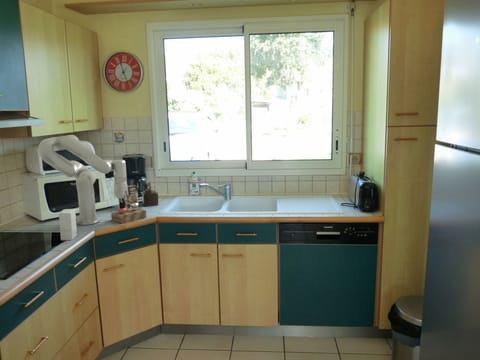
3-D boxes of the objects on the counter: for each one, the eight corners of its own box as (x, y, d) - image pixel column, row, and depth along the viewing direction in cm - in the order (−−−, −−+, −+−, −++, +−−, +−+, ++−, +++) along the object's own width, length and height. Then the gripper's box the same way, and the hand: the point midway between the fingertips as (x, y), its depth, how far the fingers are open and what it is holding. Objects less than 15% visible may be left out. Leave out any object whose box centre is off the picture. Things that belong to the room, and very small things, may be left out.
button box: (121, 223, 248) (121, 216, 247) (111, 220, 256) (111, 212, 255) (146, 217, 261) (146, 210, 260) (136, 214, 269) (135, 207, 268)
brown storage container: (141, 203, 300) (140, 180, 296) (156, 202, 304) (155, 179, 300) (144, 208, 285) (143, 183, 282) (160, 206, 290) (158, 182, 286)
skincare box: (66, 235, 225) (63, 208, 223) (78, 235, 226) (75, 208, 223) (60, 240, 217) (58, 212, 214) (73, 240, 218) (70, 212, 215)
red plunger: (121, 217, 251) (120, 209, 250) (117, 216, 254) (116, 208, 253) (128, 215, 254) (127, 208, 254) (123, 214, 258) (123, 206, 257)
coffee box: (128, 209, 282) (127, 187, 279) (122, 208, 286) (121, 186, 283) (138, 207, 289) (137, 185, 286) (133, 206, 293) (131, 184, 290)
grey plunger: (133, 212, 257) (133, 204, 256) (129, 211, 260) (129, 203, 260) (140, 210, 261) (139, 203, 260) (135, 209, 264) (135, 202, 263)
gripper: (108, 179, 253) (111, 207, 256) (121, 181, 243) (123, 211, 246) (119, 177, 258) (121, 205, 261) (132, 180, 248) (134, 208, 251)
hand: (122, 208), depth 254 cm, fingers closed
